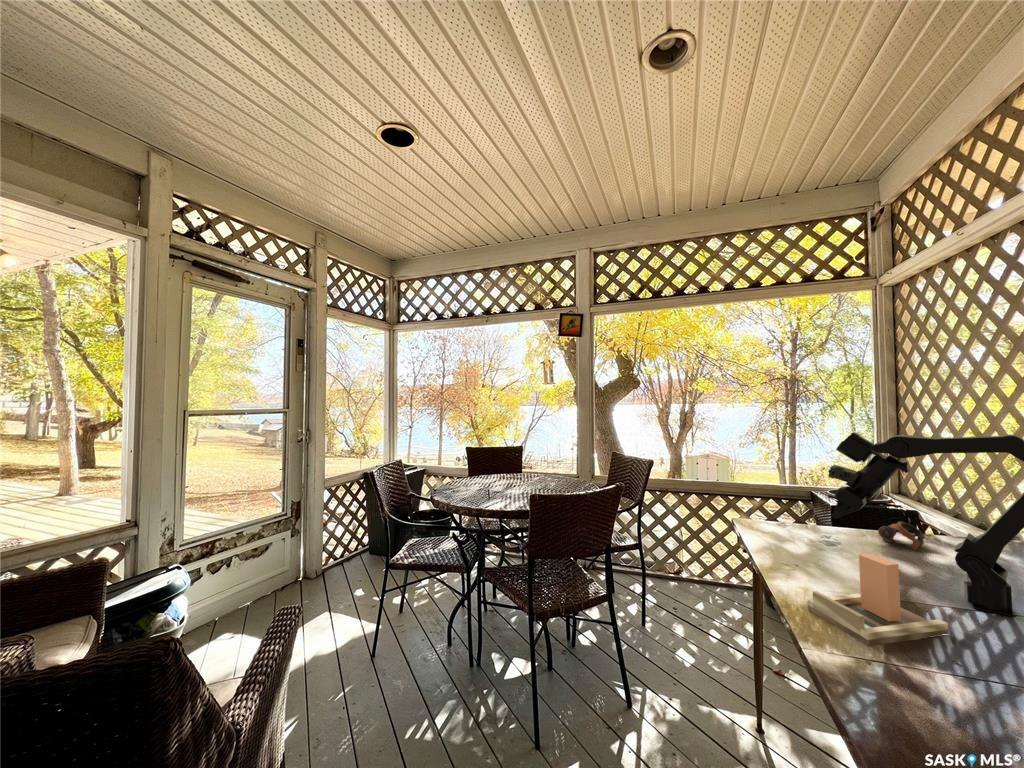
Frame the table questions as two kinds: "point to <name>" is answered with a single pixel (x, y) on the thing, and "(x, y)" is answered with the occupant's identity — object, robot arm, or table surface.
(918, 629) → the open-ended rail tray
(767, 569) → the table surface
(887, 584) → the tall block
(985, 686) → the table surface
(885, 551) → the table surface
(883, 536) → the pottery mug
